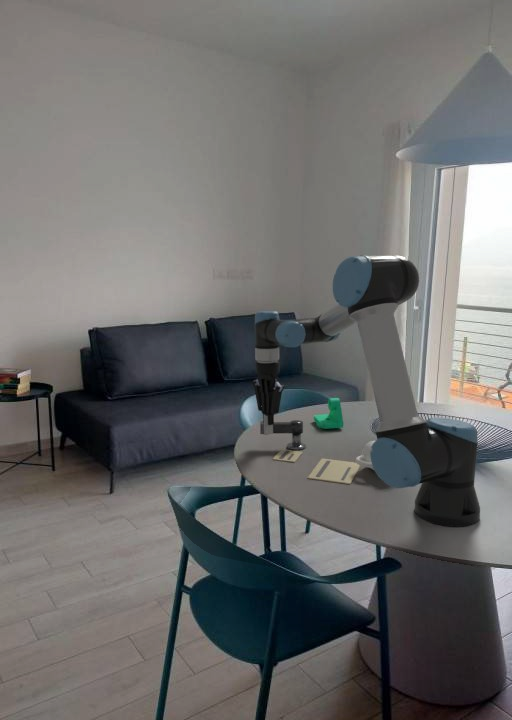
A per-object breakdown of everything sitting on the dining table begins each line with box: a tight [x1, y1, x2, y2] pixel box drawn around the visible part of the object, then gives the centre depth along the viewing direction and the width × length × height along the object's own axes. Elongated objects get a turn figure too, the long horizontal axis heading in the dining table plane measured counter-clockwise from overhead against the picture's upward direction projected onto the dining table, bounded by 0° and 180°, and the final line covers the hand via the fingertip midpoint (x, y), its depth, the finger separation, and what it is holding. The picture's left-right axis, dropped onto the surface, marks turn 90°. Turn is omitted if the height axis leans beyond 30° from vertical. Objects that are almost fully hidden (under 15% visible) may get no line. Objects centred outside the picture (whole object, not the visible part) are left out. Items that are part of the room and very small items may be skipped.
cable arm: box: [259, 419, 304, 435], centre depth 188 cm, size 14×4×4 cm, turn 90°
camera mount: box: [313, 397, 344, 430], centre depth 211 cm, size 12×8×10 cm, turn 10°
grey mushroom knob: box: [286, 433, 307, 451], centre depth 189 cm, size 6×6×5 cm
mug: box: [354, 440, 376, 472], centre depth 167 cm, size 12×10×8 cm
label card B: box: [307, 457, 361, 485], centre depth 169 cm, size 16×12×1 cm
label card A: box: [272, 449, 304, 464], centre depth 181 cm, size 9×7×1 cm
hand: (268, 434), depth 186 cm, fingers closed
